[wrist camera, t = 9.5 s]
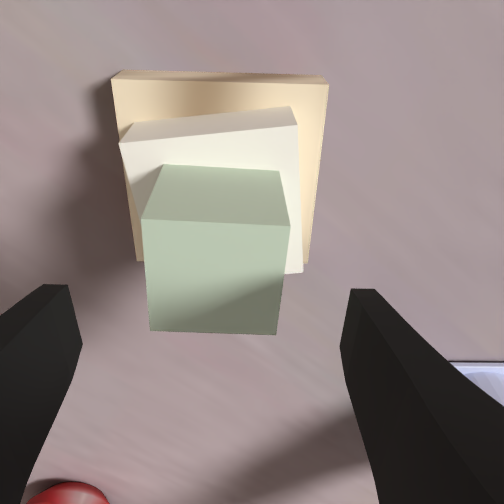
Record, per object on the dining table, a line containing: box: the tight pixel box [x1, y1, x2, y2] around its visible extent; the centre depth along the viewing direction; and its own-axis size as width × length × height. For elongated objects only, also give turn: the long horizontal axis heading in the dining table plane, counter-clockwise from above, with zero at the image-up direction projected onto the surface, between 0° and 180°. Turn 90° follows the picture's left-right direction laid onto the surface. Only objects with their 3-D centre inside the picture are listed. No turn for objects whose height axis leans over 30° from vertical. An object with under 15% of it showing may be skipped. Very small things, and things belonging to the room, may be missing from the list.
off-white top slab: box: [119, 106, 303, 274], centre depth 17 cm, size 6×6×2 cm
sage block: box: [141, 164, 291, 335], centre depth 14 cm, size 4×4×4 cm
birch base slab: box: [111, 70, 329, 263], centre depth 19 cm, size 8×8×2 cm
